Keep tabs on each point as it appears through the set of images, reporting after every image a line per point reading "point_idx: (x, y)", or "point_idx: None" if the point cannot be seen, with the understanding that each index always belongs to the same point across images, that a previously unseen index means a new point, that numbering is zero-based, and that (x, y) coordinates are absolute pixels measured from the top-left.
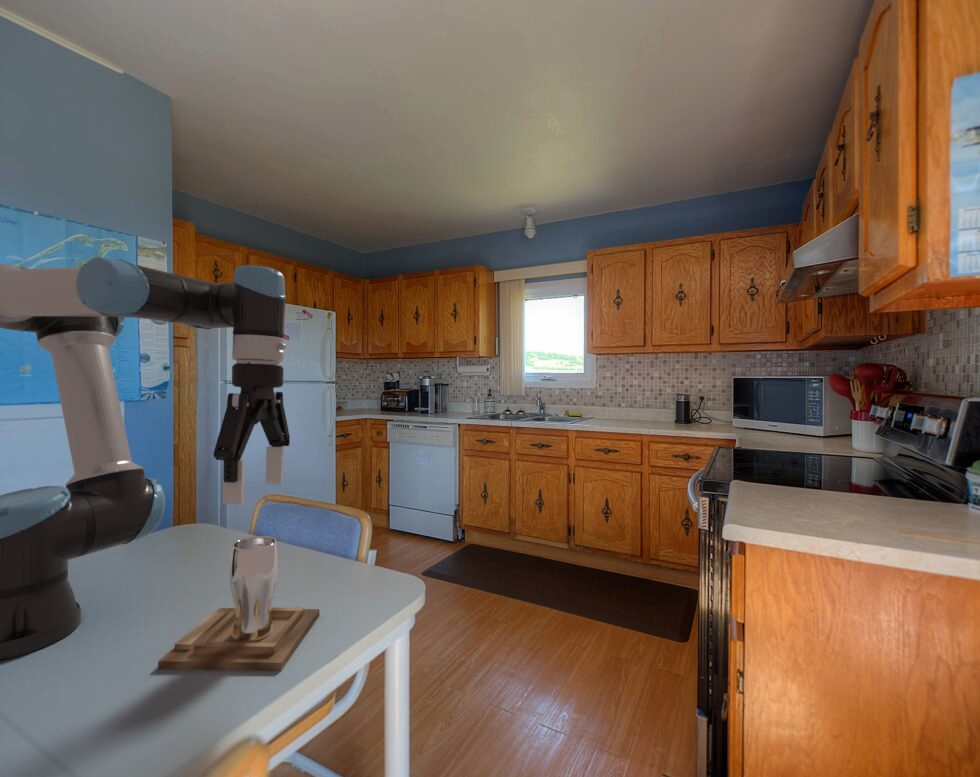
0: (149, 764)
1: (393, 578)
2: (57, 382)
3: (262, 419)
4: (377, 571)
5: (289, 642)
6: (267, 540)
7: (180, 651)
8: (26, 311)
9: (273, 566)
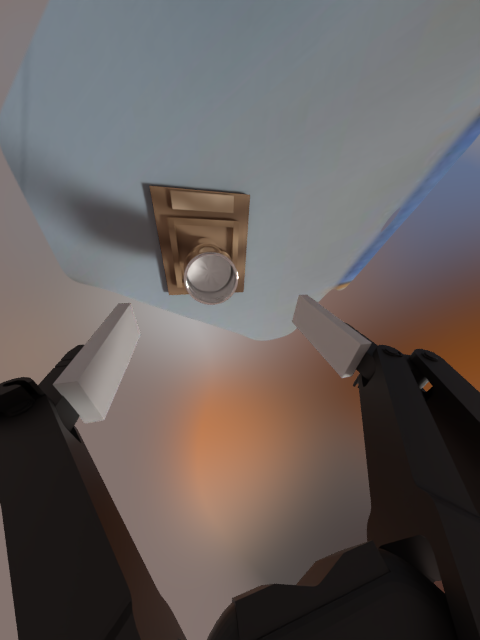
0: (58, 256)
1: None
2: None
3: (404, 507)
4: None
5: None
6: (234, 284)
7: (168, 200)
8: None
9: (206, 294)
